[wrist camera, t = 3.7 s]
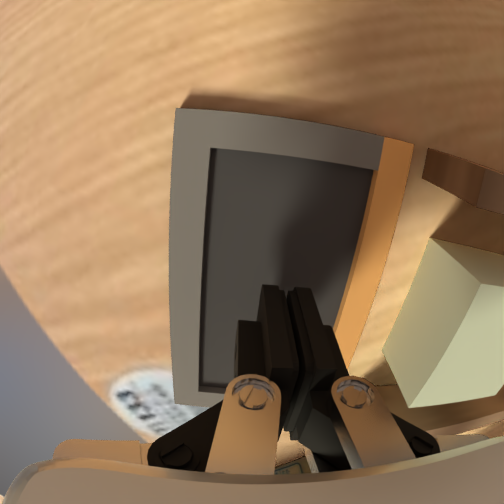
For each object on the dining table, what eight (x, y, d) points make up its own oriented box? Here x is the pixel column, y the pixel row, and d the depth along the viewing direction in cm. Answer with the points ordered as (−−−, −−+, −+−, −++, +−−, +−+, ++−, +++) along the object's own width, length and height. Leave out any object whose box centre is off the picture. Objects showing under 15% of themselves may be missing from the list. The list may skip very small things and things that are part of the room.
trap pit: (406, 142, 10) (414, 144, 10) (326, 402, 16) (329, 410, 15) (179, 108, 10) (175, 108, 9) (176, 394, 15) (174, 403, 15)
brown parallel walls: (571, 204, 11) (611, 227, 8) (490, 382, 17) (511, 416, 14) (428, 148, 10) (485, 168, 7) (343, 401, 16) (358, 452, 13)
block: (509, 255, 13) (557, 294, 9) (463, 347, 15) (495, 395, 12) (427, 235, 12) (481, 283, 9) (380, 347, 15) (408, 408, 11)
